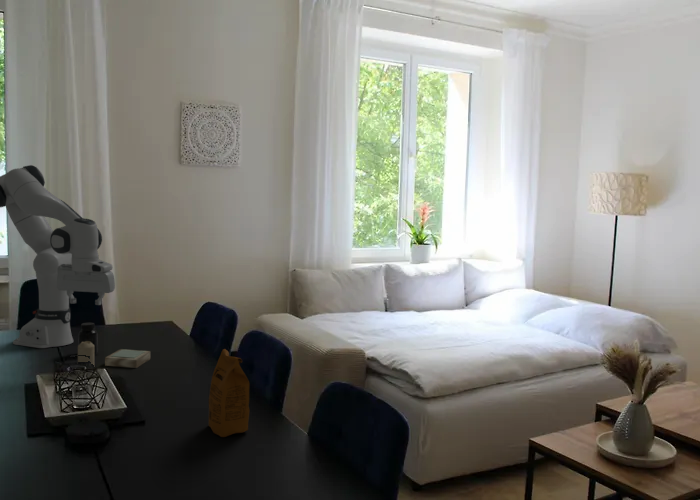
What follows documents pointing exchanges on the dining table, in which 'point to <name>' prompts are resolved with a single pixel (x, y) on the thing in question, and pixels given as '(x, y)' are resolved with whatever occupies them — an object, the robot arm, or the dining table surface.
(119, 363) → the plinth
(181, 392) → the dining table surface
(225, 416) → the coffee package
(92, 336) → the supplement bottle
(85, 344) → the candle
